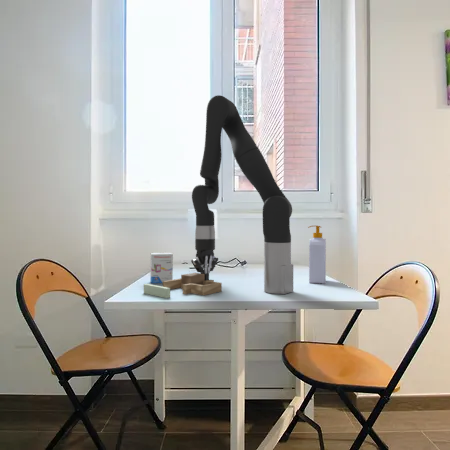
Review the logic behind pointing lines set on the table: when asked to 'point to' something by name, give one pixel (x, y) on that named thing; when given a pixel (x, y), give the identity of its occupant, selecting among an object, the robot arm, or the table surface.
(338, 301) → the table surface
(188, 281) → the walnut block
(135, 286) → the table surface
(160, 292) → the wall
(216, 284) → the wooden maze walls
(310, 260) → the soap bottle
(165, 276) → the ink box
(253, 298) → the table surface
